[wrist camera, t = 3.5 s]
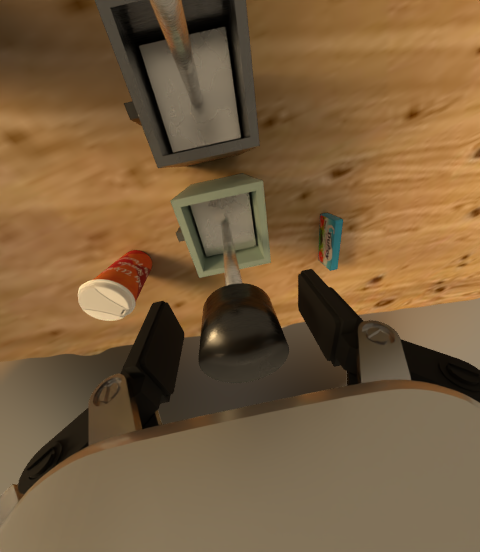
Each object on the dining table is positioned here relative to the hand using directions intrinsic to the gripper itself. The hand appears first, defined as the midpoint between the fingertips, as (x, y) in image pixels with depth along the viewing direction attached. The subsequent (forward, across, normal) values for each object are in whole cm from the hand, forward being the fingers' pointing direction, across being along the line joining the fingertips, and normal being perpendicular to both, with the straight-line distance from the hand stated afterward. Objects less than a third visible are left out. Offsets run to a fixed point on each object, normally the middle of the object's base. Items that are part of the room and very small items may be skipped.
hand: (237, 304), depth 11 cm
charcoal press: (+30, 0, -13) cm, 33 cm away
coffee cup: (+31, +22, +8) cm, 39 cm away
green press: (+30, 0, 0) cm, 30 cm away
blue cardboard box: (+31, -22, +12) cm, 40 cm away
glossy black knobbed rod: (+17, 0, 0) cm, 17 cm away
